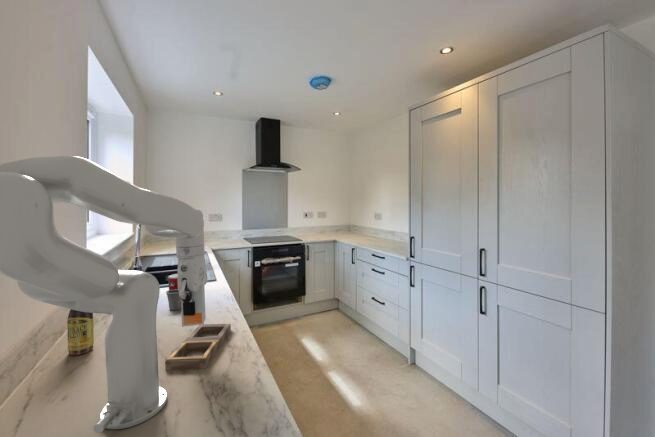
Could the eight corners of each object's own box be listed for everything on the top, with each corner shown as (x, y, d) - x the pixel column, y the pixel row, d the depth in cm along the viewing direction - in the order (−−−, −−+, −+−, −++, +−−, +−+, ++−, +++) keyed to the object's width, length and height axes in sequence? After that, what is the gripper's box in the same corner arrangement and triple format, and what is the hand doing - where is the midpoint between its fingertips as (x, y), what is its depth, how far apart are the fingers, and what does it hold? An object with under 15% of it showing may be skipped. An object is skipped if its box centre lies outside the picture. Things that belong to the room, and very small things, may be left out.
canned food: (169, 296, 144) (168, 274, 143) (187, 293, 147) (186, 272, 146) (168, 300, 137) (167, 278, 136) (187, 298, 140) (186, 276, 139)
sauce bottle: (63, 357, 87) (58, 293, 86) (76, 347, 93) (72, 287, 92) (87, 355, 88) (83, 291, 87) (99, 345, 94) (96, 286, 93)
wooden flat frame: (205, 368, 81) (205, 359, 80) (165, 370, 80) (165, 360, 80) (230, 330, 104) (230, 322, 104) (200, 331, 104) (199, 323, 104)
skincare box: (181, 327, 83) (179, 287, 82) (184, 321, 87) (182, 283, 87) (204, 324, 85) (202, 285, 84) (206, 319, 89) (204, 281, 88)
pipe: (187, 312, 122) (187, 294, 121) (162, 310, 125) (161, 292, 124) (197, 307, 128) (196, 290, 127) (173, 305, 131) (172, 288, 130)
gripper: (191, 257, 76) (194, 323, 78) (213, 246, 93) (216, 300, 95) (162, 257, 76) (166, 324, 77) (190, 246, 93) (193, 301, 94)
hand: (193, 310), depth 86 cm, fingers closed on skincare box, 5 cm apart
